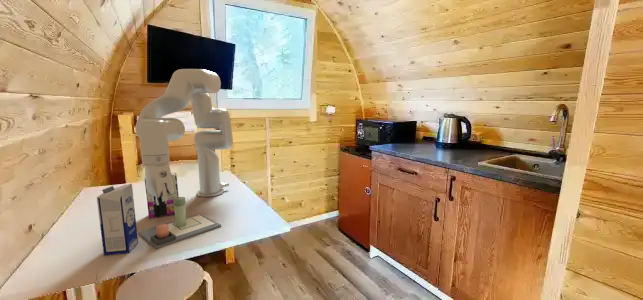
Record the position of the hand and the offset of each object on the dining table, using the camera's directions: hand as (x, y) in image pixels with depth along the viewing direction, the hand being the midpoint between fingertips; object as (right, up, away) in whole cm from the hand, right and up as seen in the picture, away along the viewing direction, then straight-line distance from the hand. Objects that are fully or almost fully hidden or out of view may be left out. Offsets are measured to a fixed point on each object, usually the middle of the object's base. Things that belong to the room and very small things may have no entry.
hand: (160, 215), depth 93 cm
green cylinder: (+1, -6, +12) cm, 14 cm away
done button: (0, -7, +1) cm, 7 cm away
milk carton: (-10, -10, -3) cm, 15 cm away
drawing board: (+2, -7, +10) cm, 13 cm away
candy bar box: (-12, -5, +25) cm, 28 cm away
